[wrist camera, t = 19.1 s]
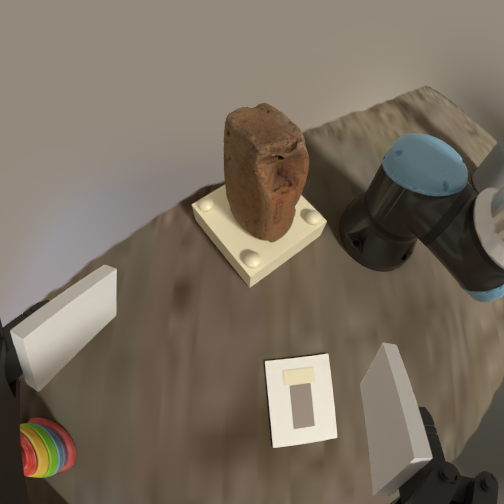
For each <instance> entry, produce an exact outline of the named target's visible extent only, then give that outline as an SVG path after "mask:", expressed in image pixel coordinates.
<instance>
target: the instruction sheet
mask: <svg viewBox="0 0 504 504" xmlns="http://www.w3.org/2000/svg"><path fill="white" fill-rule="evenodd" d="M265 369H266V380H267V390H268V401H269V411H270V422H271V432H272V443H273V448H276V447H285V446H292V445H299V444H305V443H311V442H317V441H323V440H328V439H333V438H337V429H336V418H335V408H334V398H333V389H332V380H331V372H330V364H329V356H328V354H322V355H314V356H307V357H299V358H290V359H281V360H271V361H265Z"/></svg>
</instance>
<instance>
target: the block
mask: <svg viewBox="0 0 504 504" xmlns="http://www.w3.org/2000/svg"><path fill="white" fill-rule="evenodd" d="M308 169H309V155H308V152H307V149H306V143H305V139H304V136H303V134H302V132H301V130H300V129H299V128H298V127H297V126H296V125H295V124H294V123H292V122H291V121H290V119H289V118H288V117H286V116H285V115H284V114H283V113H282V112H280V111H279V110H277V109H276V108H274V107H272V106H270V105H268V104H266V103H263V104H259V105H258V106H257V107H254V108H249V107H242V108H239V109H237V110H235V111H233V112H231V113H229V114H228V116H227V118H226V122H225V131H224V174H225V187H226V196H227V199H228V202H229V205H230V210H231V212H232V214H233V216H234V218H235V219H236V220H237V222H238V223H239V224H240V225H241V227H242V228H244V229H245V230H246V231H247V232H249V233H250V234H251V235H253V236H254V237H256V238H257V239H259V240H264V241H266V240H268V241H269V242H275V241H277V240H279V239H280V238H282V237H283V236H284V235H285V234H286V233H287V232H288V231H289V229H290V228H291V225H292V223H293V219H294V216H295V212H296V209H295V205H296V204H297V203H298V201H299V199H300V197H301V194H302V192H303V188H304V185H305V182H306V178H307V174H308Z"/></svg>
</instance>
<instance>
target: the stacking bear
mask: <svg viewBox="0 0 504 504" xmlns="http://www.w3.org/2000/svg"><path fill="white" fill-rule="evenodd" d="M20 437H21V450H22V461H23V469H24V476H28V477H37V478H44V477H49V476H52V475H54V474H56V473H60V472H64V471H66V470H68V469H69V468H70V467H71V466H72V465H73V464H74V462H75V459H76V449H75V445H74V443H73V440H72V438H71V437H70V435H69V434H68V433H67V431H66V430H65V429H63V428H62V427H61V426H60V425H58V424H57V423H55V422H53V421H51V420H49V419H46V418H41V417H34V418H31V419H30V420H29V422H28V423H24V424H20Z"/></svg>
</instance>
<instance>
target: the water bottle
mask: <svg viewBox="0 0 504 504" xmlns="http://www.w3.org/2000/svg"><path fill="white" fill-rule="evenodd" d="M472 181H473V184H474V187H475V189H476V190H477V192H478V193H480V192H482V191H483V190H485V189H487V188H498V189H501V188H502V187H503V186H504V139H503V140H500V141H499V142H498V143H497V144H496V145H495V147H494V148H493V149H492V151H491V152H490V153H489V154H488V156H487V157H486V158H485V159H484V161H483V162H482V163H481V164H480V166H479V167H478V168H477V169H476V171H475V172H474V173H473V176H472Z"/></svg>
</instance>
